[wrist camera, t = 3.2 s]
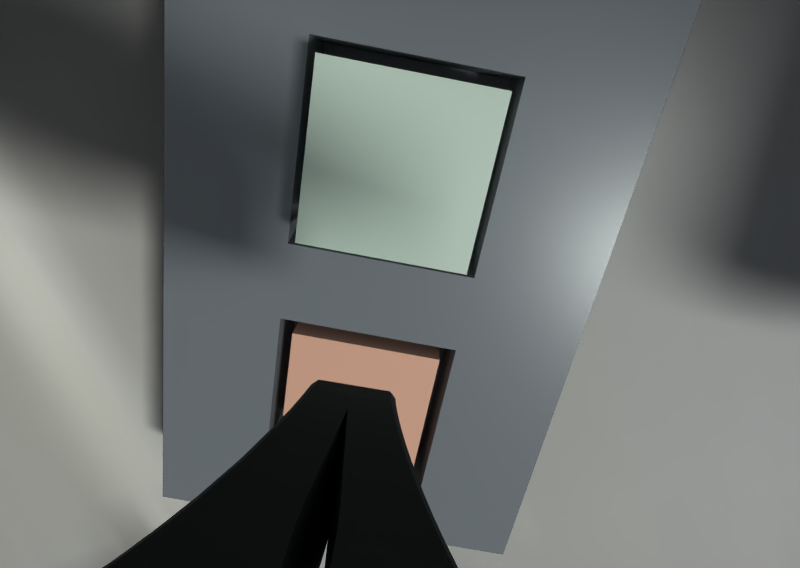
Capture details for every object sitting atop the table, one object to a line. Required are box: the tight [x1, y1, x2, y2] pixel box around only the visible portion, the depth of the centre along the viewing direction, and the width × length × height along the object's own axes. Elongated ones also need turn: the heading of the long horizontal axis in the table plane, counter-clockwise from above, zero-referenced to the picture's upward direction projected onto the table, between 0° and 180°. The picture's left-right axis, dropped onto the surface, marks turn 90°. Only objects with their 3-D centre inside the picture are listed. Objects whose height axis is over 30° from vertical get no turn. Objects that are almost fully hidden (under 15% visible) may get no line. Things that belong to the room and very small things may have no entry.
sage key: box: [295, 52, 512, 275], centre depth 12 cm, size 4×4×2 cm
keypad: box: [163, 0, 702, 554], centre depth 14 cm, size 12×25×2 cm, turn 170°
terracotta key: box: [283, 322, 440, 466], centre depth 16 cm, size 4×4×2 cm
